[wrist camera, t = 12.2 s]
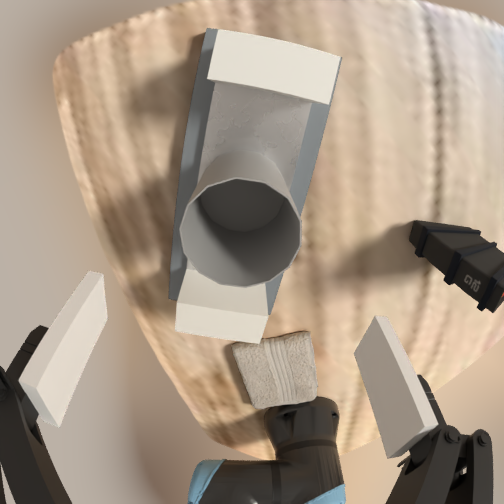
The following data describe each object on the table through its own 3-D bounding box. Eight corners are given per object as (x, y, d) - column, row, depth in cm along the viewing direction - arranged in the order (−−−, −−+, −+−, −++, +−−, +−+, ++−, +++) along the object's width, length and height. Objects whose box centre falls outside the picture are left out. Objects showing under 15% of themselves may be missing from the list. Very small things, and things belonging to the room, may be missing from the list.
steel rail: (257, 303, 37) (257, 308, 36) (184, 292, 36) (183, 296, 35) (319, 64, 24) (321, 64, 23) (224, 44, 23) (224, 43, 22)
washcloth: (254, 401, 52) (254, 414, 49) (228, 339, 43) (227, 354, 40) (317, 390, 50) (319, 404, 48) (309, 324, 42) (313, 340, 39)
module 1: (257, 308, 36) (259, 343, 31) (183, 296, 35) (175, 331, 30) (265, 281, 34) (268, 316, 29) (186, 268, 33) (176, 302, 28)
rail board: (269, 307, 39) (270, 314, 38) (170, 291, 38) (168, 298, 36) (337, 59, 24) (342, 57, 23) (208, 31, 23) (206, 28, 22)
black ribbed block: (399, 219, 32) (506, 286, 20) (446, 211, 37) (528, 260, 26) (391, 248, 33) (489, 318, 22) (440, 234, 39) (517, 284, 27)
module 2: (311, 102, 25) (329, 104, 20) (215, 82, 24) (207, 78, 19) (321, 64, 23) (340, 56, 18) (224, 43, 22) (218, 29, 17)
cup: (285, 227, 31) (300, 284, 22) (205, 232, 31) (191, 290, 23) (283, 146, 27) (301, 173, 18) (195, 153, 27) (171, 182, 18)
